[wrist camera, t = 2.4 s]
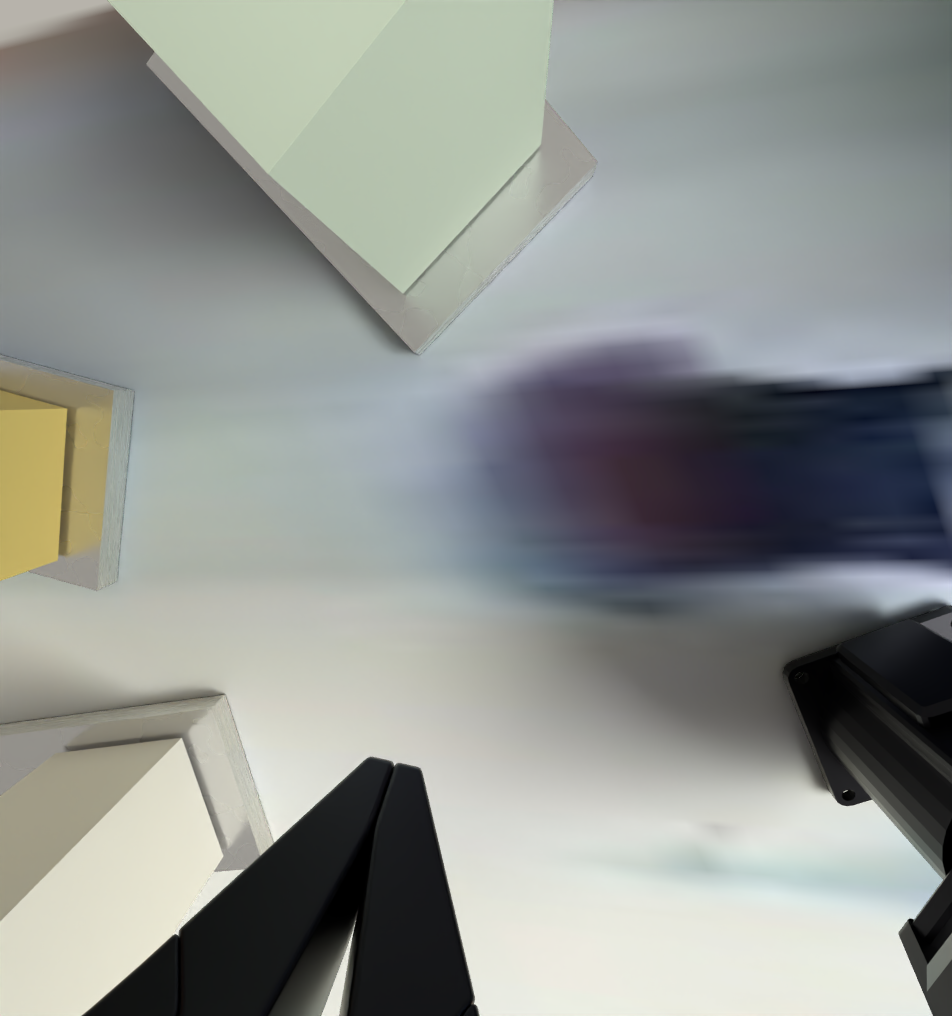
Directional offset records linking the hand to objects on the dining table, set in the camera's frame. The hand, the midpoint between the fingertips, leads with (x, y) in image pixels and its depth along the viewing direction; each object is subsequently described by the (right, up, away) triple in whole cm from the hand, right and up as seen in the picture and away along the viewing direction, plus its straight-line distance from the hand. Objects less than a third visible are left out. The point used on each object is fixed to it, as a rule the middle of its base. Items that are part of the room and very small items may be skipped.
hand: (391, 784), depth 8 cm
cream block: (-13, -9, +14) cm, 21 cm away
